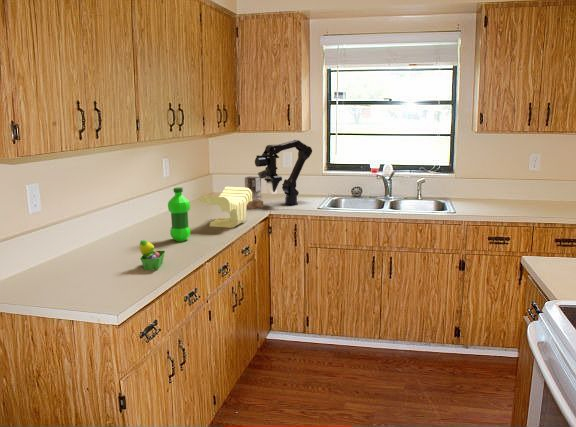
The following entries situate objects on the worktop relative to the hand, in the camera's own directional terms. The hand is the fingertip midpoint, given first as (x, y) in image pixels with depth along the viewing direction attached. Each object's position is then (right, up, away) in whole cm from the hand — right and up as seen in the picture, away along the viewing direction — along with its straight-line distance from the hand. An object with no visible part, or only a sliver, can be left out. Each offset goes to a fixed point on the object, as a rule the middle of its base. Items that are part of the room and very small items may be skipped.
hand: (272, 190), depth 329 cm
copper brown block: (-12, -10, +2) cm, 16 cm away
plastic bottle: (-41, -27, -75) cm, 90 cm away
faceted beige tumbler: (0, -2, 0) cm, 2 cm away
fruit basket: (-45, -36, -116) cm, 129 cm away
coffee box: (-13, -6, +21) cm, 26 cm away
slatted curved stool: (-22, -20, -44) cm, 53 cm away
